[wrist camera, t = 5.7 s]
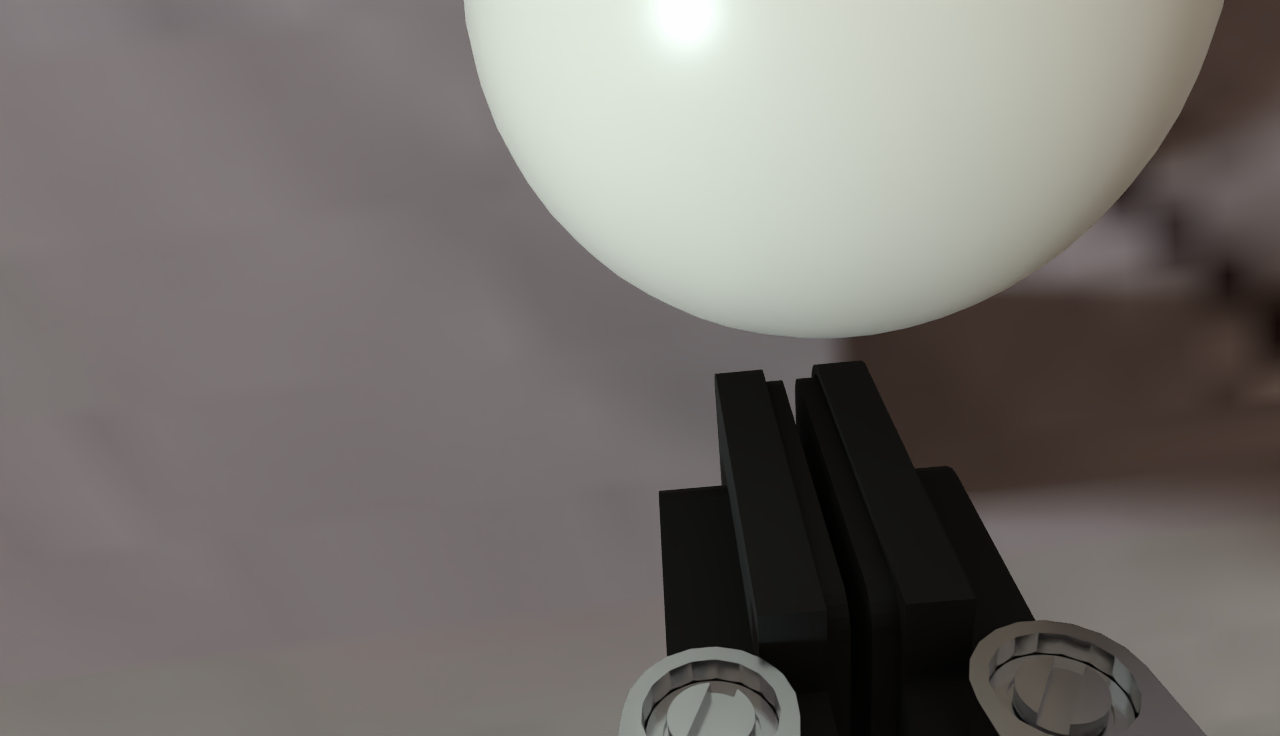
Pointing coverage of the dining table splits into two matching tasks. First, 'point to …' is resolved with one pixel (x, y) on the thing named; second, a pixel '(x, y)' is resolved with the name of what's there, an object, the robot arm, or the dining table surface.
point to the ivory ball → (833, 141)
